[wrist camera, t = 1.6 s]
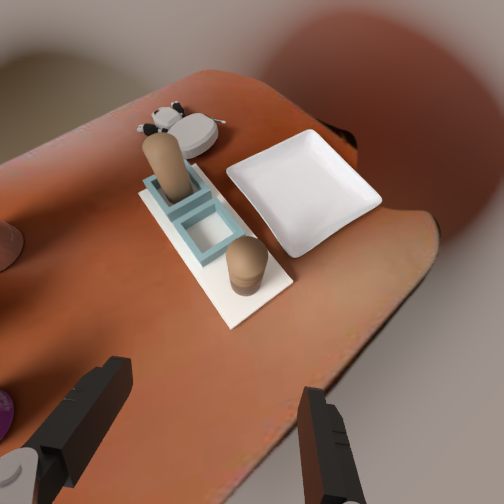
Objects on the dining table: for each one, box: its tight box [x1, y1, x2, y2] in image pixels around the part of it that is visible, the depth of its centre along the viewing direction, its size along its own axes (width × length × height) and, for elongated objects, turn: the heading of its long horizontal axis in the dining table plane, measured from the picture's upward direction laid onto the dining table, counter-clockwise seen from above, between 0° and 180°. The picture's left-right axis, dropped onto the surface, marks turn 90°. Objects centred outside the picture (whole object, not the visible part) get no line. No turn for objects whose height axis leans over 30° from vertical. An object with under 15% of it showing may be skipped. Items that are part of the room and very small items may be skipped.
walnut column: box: [226, 236, 268, 296], centre depth 32 cm, size 5×5×11 cm
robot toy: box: [137, 101, 226, 159], centre depth 48 cm, size 12×4×15 cm
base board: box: [138, 132, 293, 330], centre depth 35 cm, size 12×29×12 cm, turn 37°
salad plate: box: [226, 129, 382, 258], centre depth 44 cm, size 21×21×3 cm
